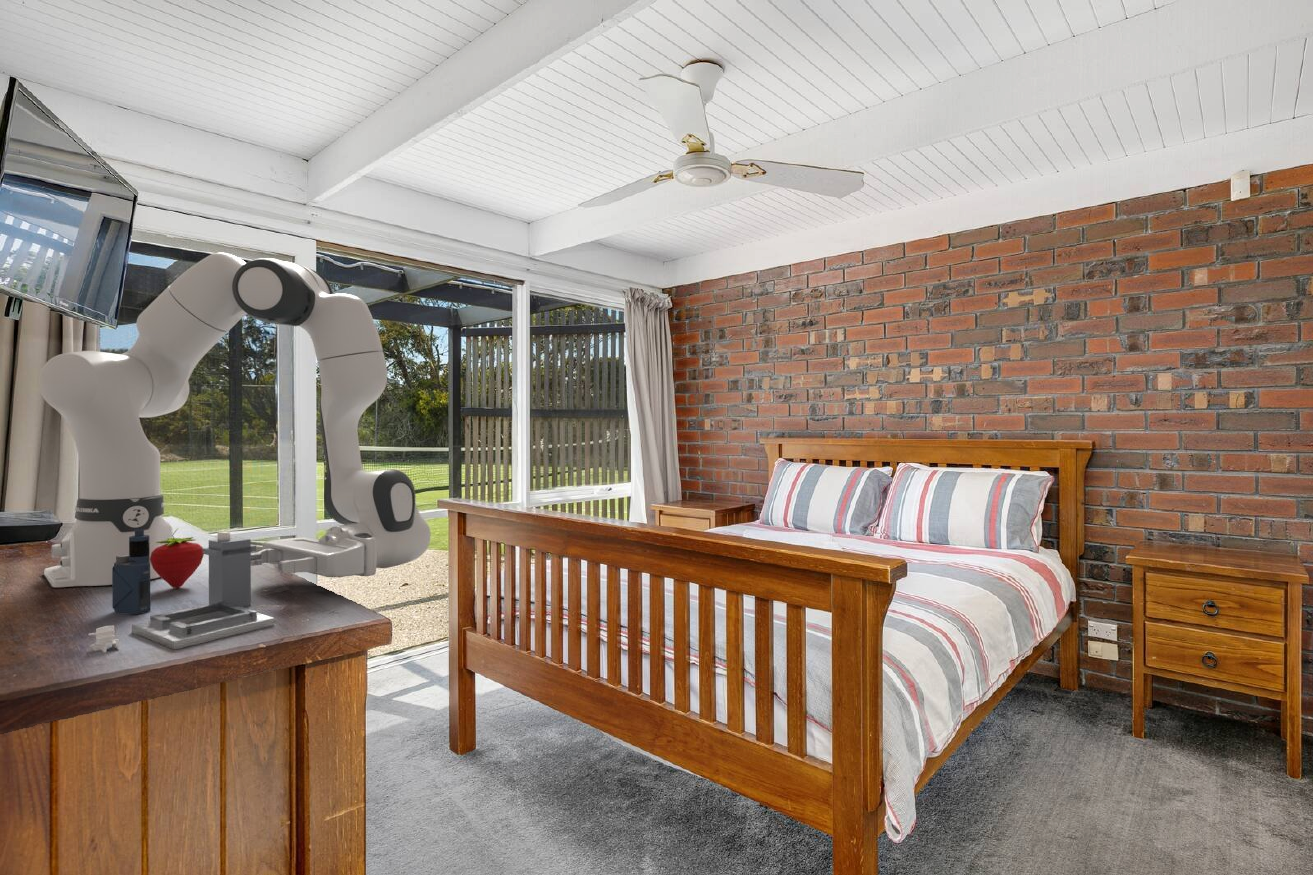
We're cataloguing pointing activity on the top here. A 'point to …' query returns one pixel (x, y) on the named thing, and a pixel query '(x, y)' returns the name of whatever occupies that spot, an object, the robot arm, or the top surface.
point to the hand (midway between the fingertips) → (263, 564)
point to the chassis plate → (201, 624)
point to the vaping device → (132, 577)
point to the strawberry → (176, 560)
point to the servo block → (230, 569)
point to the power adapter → (104, 638)
